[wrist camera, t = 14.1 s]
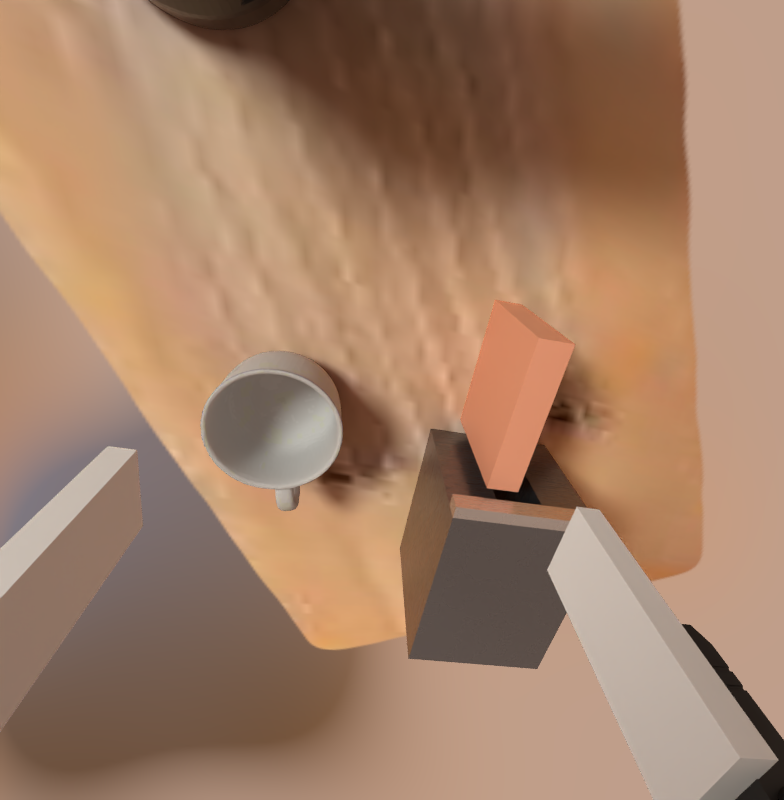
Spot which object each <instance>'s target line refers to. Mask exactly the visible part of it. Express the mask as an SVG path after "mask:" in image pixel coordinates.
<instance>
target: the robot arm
mask: <svg viewBox="0 0 784 800" xmlns="http://www.w3.org/2000/svg"><path fill="white" fill-rule="evenodd" d="M149 1H151V2H152V3H153V4H155V5H156V6H157V7H159V8H160V9H162V10H163V11H165V12H166V13H168V14H170V15H172V16H174V17H176V18H178V19H180V20H182V21H184V22H187V23H190V24H192V25H196V26H199V27H204V28H209V29H218V30H228V29H237V28H243V27H247V26H250V25H253V24H256V23H258V22H260V21H262V20H264V19H266V18H268V17H270V16H271V15H273V14H274V13H276V12H277V11H278V10H279V9H281V8H282V7H283V6H284V5H285V4H286V3H287V2H288V1H289V0H149ZM140 496H141V495H140V483H139V470H138V457H137V450H133V449H125V448H118V447H110V446H108V447H107V448H106V449H104V450H103V451H102V452H101V453H100V454H99V455H98V456H97V457H96V458H95V459H94V460H93V461H92V462H91V463H90V464H89V465H88V466H87V467H85V468H84V469H83V470H82V471H81V472H80V473H79V474H78V475H77V476H76V477H75V478H74V479H73V480H72V481H71V482H70V483H69V484H68V485H67V486H66V487H64V489H62V490H61V491H60V492H59V493H58V494H57V495H56V496H55V497H54V498H53V499H52V500H51V501H50V502H49V503H48V504H47V505H46V506H45V507H43V508H42V510H40V511H39V512H38V513H37V514H36V515H35V516H34V517H33V518H32V519H31V520H30V521H29V522H28V523H27V524H26V525H25V526H24V527H22V529H20V530H19V531H18V532H17V533H16V534H15V535H14V536H13V537H12V538H11V539H10V540H9V541H8V542H7V543H6V544H5V545H4V546H3V547H1V549H0V731H1V730H2V729H3V727H4V725H5V724H6V723H7V721H8V720H9V718H10V717H11V716H12V714H13V713H14V711H15V710H16V708H17V707H18V705H19V704H20V703H21V701H22V699H23V698H24V697H25V695H26V694H27V692H28V691H29V690H30V688H31V687H32V685H33V684H34V682H35V681H36V679H37V678H38V677H39V675H40V674H41V672H42V671H43V669H44V668H45V666H46V665H47V664H48V662H49V661H50V659H51V658H52V656H53V655H54V653H55V652H56V651H57V649H58V648H59V646H60V645H61V643H62V642H63V640H64V639H65V638H66V636H67V635H68V633H69V632H70V630H71V629H72V627H73V626H74V624H75V623H76V622H77V620H78V619H79V617H80V616H81V614H82V613H83V612H84V610H85V609H86V607H87V606H88V604H89V603H90V601H91V600H92V599H93V597H94V595H95V594H96V593H97V591H98V590H99V588H100V587H101V586H102V584H103V583H104V581H105V580H106V578H107V577H108V576H109V574H110V573H111V571H112V570H113V568H114V567H115V565H116V564H117V563H118V561H119V560H120V558H121V556H122V555H123V554H124V552H125V551H126V549H127V548H128V547H129V545H130V544H131V542H132V541H133V539H134V538H135V536H136V535H137V534H138V532H139V531H140V529H141V528H142V526H143V520H142V508H141V497H140ZM547 571H548V573H549V575H550V577H551V580H552V582H553V584H554V586H555V588H556V590H557V593H558V595H559V597H560V599H561V601H562V603H563V605H564V608H565V610H566V612H567V614H568V616H569V618H570V620H571V623H572V625H573V627H574V629H575V631H576V633H577V636H578V638H579V640H580V642H581V644H582V646H583V648H584V651H585V653H586V655H587V657H588V660H589V661H590V664H591V666H592V668H593V670H594V672H595V675H596V677H597V679H598V681H599V683H600V685H601V688H602V690H603V692H604V694H605V696H606V698H607V700H608V703H609V705H610V707H611V709H612V711H613V714H614V716H615V718H616V720H617V722H618V724H619V727H620V729H621V731H622V733H623V735H624V737H625V740H626V742H627V744H628V746H629V748H630V750H631V752H632V755H633V756H634V759H635V761H636V763H637V765H638V767H639V770H640V772H641V774H642V776H643V778H644V781H645V782H646V785H647V787H648V789H649V791H650V794H651V795H652V798H653V800H784V740H783V739H782V737H781V736H780V735H779V733H778V732H777V731H776V729H775V728H774V727H773V725H772V724H771V723H770V721H769V720H768V719H767V717H766V716H765V715H764V713H763V712H762V711H761V709H760V708H759V707H758V705H757V704H756V703H755V701H754V700H753V699H752V697H751V696H750V695H749V693H748V692H747V691H745V690H743V686H742V684H741V683H740V681H739V680H738V679H737V677H736V676H735V675H734V673H733V672H731V671H729V667H728V665H727V664H726V663H725V661H724V660H723V659H722V657H721V656H720V655H719V653H718V652H717V651H716V649H715V648H714V647H713V646H712V644H711V643H710V642H708V641H707V640H706V639H705V638H704V637H703V636H702V635H701V634H700V633H699V632H697V631H696V630H695V629H694V628H693V627H692V626H691V625H686V624H681V623H680V622H679V620H678V619H677V617H676V616H675V615H674V613H673V612H672V610H671V609H670V608H669V606H668V605H667V603H666V602H665V601H664V599H663V598H662V596H661V595H660V594H659V592H658V591H657V590H656V588H655V587H654V585H653V584H652V582H651V581H650V580H649V578H648V577H647V575H646V574H645V573H644V571H643V570H642V568H641V567H640V566H639V564H638V563H637V561H636V560H635V559H634V557H633V556H632V554H631V553H630V552H629V550H628V549H627V548H626V546H625V545H624V543H623V542H622V541H621V539H620V538H619V536H618V535H617V534H616V532H615V531H614V529H613V528H612V527H611V525H610V524H609V522H608V521H607V520H606V518H605V517H604V515H603V514H602V513H601V511H600V510H599V509H591V508H583V507H576V509H575V511H574V514H573V516H572V518H571V520H570V522H569V524H568V526H567V529H566V531H565V533H564V535H563V537H562V539H561V541H560V544H559V546H558V548H557V550H556V552H555V554H554V556H553V559H552V561H551V563H550V565H549V567H548V569H547Z"/></svg>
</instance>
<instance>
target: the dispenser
mask: <svg viewBox="0 0 784 800" xmlns="http://www.w3.org/2000/svg"><path fill="white" fill-rule="evenodd" d="M576 507H583V508H587V507H586V506H585V504H584V503H583V501H582V500H581V498H580V497H579V495H578V494H577V493H576V491H575V490H574V488H573V487H572V485H571V484H570V482H569V481H568V479H567V478H566V476H565V475H564V473H563V472H562V471H561V469H560V468H559V466H558V465H557V463H556V462H555V460H554V459H553V457H552V456H551V454H550V453H549V451H548V450H547V448H546V447H545V446H544V445H539V444H537V445H536V447H535V450H534V453H533V455H532V458H531V460H530V463H529V466H528V468H527V471H526V473H525V476H524V478H523V481H522V484H521V486H520V489H519V491H518V492H512V491H504V490H497V489H489V488H487V487H486V485H485V482H484V479H483V477H482V474H481V472H480V469H479V466H478V464H477V461H476V459H475V456H474V453H473V451H472V448H471V446H470V443H469V440H468V438H467V435H466V434H463V433H456V432H449V431H443V430H436V429H431V430H430V434H429V438H428V442H427V446H426V450H425V454H424V457H423V461H422V465H421V469H420V473H419V477H418V481H417V485H416V488H415V492H414V496H413V500H412V504H411V508H410V512H409V515H408V519H407V523H406V527H405V531H404V535H403V539H402V543H401V546H400V554H401V567H402V580H403V594H404V607H405V620H406V633H407V646H408V658H410V659H422V660H434V661H446V662H458V663H471V664H483V665H495V666H508V667H520V668H533V669H537V668H538V666H539V664H540V662H541V661H542V659H543V657H544V655H545V653H546V651H547V649H548V647H549V645H550V643H551V641H552V640H553V638H554V636H555V634H556V632H557V630H558V628H559V626H560V624H561V622H562V620H563V619H564V616H565V615H566V613H567V612H566V610H565V608H564V605H563V603H562V601H561V599H560V597H559V595H558V593H557V590H556V588H555V586H554V584H553V582H552V580H551V577H550V575H549V573H548V571H547V569H548V567H549V565H550V563H551V561H552V559H553V556H554V554H555V552H556V550H557V548H558V546H559V544H560V541H561V539H562V537H563V535H564V533H565V531H566V529H567V526H568V524H569V522H570V520H571V518H572V516H573V514H574V511H575V509H576ZM604 517H605V516H604ZM606 520H607V519H606ZM607 521H608V520H607ZM609 524H610V523H609ZM611 527H612V526H611Z"/></svg>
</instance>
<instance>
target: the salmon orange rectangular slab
mask: <svg viewBox="0 0 784 800" xmlns="http://www.w3.org/2000/svg"><path fill="white" fill-rule="evenodd" d="M574 347H575V344H574V343H573V342H571V341H570V340H569V339H567V338H566V337H565V336H563V335H562V334H561V333H559V332H558V331H557V330H555V329H554V328H553V327H551V326H550V325H549V324H547V323H546V322H545V321H543V320H542V319H541V318H539V317H538V316H537V315H535V314H534V313H533V312H531V311H530V310H529V309H527V308H526V307H525V306H523V305H521V304H515V303H510V302H504V301H499V300H495V302H494V305H493V309H492V312H491V316H490V319H489V323H488V326H487V329H486V333H485V336H484V340H483V343H482V347H481V350H480V354H479V357H478V360H477V364H476V367H475V371H474V374H473V378H472V381H471V385H470V388H469V392H468V395H467V398H466V402H465V405H464V409H463V412H462V416H461V419H460V420H461V422H462V425H463V428H464V430H465V433H466V435H467V438H468V440H469V443H470V446H471V448H472V451H473V453H474V456H475V459H476V461H477V464H478V466H479V469H480V472H481V474H482V477H483V479H484V482H485V485H486V487H487V488H489V489H497V490H504V491H512V492H518V491H519V489H520V486H521V484H522V481H523V478H524V476H525V473H526V471H527V468H528V466H529V463H530V460H531V458H532V455H533V453H534V450H535V447H536V445H537V442H538V440H539V437H540V435H541V432H542V429H543V427H544V424H545V422H546V419H547V416H548V414H549V411H550V409H551V406H552V404H553V401H554V398H555V396H556V393H557V391H558V388H559V385H560V383H561V380H562V378H563V375H564V373H565V370H566V367H567V365H568V362H569V360H570V357H571V354H572V352H573V349H574Z"/></svg>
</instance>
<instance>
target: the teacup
mask: <svg viewBox="0 0 784 800" xmlns="http://www.w3.org/2000/svg"><path fill="white" fill-rule="evenodd" d="M200 426H201V436H202V440H203V443H204V446H205V447H206V449H207V452H208V453H209V456H210V457H211V458H212V460H213V461H214V463H215V464H216V465H217V466H218V467H219V468H220V469H221V470H223V471H224V472H225V473H226V474H227V475H229V476H230V477H232V478H234V479H235V480H237V481H240V482H242V483H244V484H247V485H250V486H254V487H258V488H265V489H275V492H276V502H277V506H278V508H279V509H280V510H282V511H291V510H294V509H296V507H297V506H298V503H299V495H300V485H303V484H305V483H308V482H311V481H313V480H315V479H316V478H318V477H319V476H321V475H322V474H323V473H324V472H326V471H327V470H328V469H329V468H330V466H331V465H332V464H333V463H334V461H335V459H336V458H337V456H338V454H339V451H340V448H341V444H342V439H343V425H342V418H341V404H340V399H339V395H338V392H337V389H336V386H335V384H334V382H333V381H332V379H331V378H330V376H329V375H328V374H327V373H326V371H325V370H324V369H323V368H322V367H320V366H319V365H318V364H317V363H315V362H314V361H312V360H310V359H308V358H306V357H305V356H302V355H300V354H296V353H292V352H286V351H269V352H264V353H260V354H257V355H254V356H252V357H250V358H248V359H246V360H245V361H243V362H242V363H240V364H239V365H238V366H236V367H235V368H234V369H233V370H232V371H231V372H230V373H229V375H228V376H227V377H226V378H225V379H224V381H223V382H222V383H221V385H220V386H218V387H217V388H216V389H215V391H214V392H213V393H212V394H211V396H210V397H209V399H208V400H207V402H206V404H205V406H204V410H203V412H202V418H201V425H200Z"/></svg>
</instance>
